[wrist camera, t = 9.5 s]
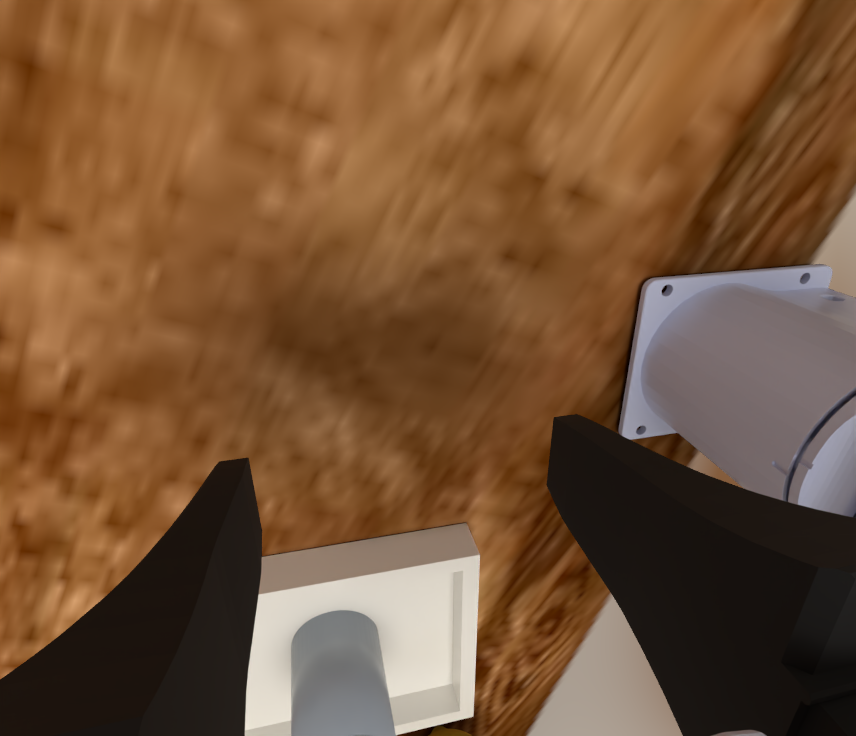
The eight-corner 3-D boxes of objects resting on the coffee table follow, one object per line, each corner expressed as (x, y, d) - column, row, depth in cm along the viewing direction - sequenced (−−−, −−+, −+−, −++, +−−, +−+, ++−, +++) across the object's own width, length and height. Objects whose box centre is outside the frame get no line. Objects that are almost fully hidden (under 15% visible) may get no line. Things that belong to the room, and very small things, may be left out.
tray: (466, 522, 27) (479, 554, 25) (462, 680, 32) (473, 716, 30) (165, 573, 24) (154, 613, 22) (214, 736, 30) (208, 780, 28)
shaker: (373, 601, 27) (397, 745, 21) (382, 659, 29) (408, 807, 23) (283, 622, 26) (281, 778, 20) (299, 680, 28) (302, 839, 22)
